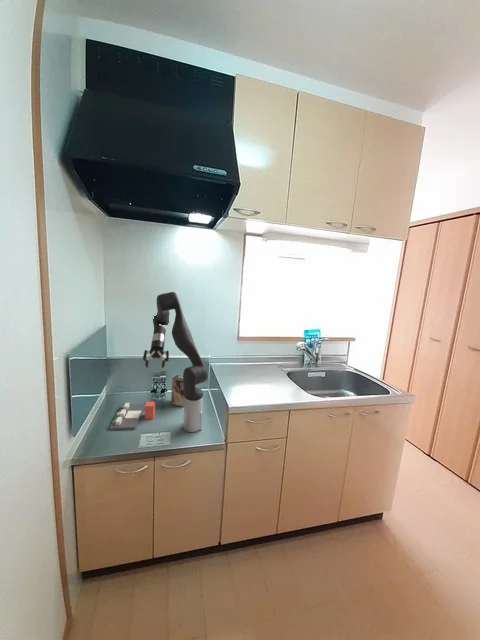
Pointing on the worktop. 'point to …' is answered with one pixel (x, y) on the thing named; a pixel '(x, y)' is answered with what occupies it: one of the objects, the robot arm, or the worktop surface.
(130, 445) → the worktop surface
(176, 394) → the coffee box
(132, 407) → the panel
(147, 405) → the coral red square block
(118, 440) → the worktop surface
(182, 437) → the worktop surface
